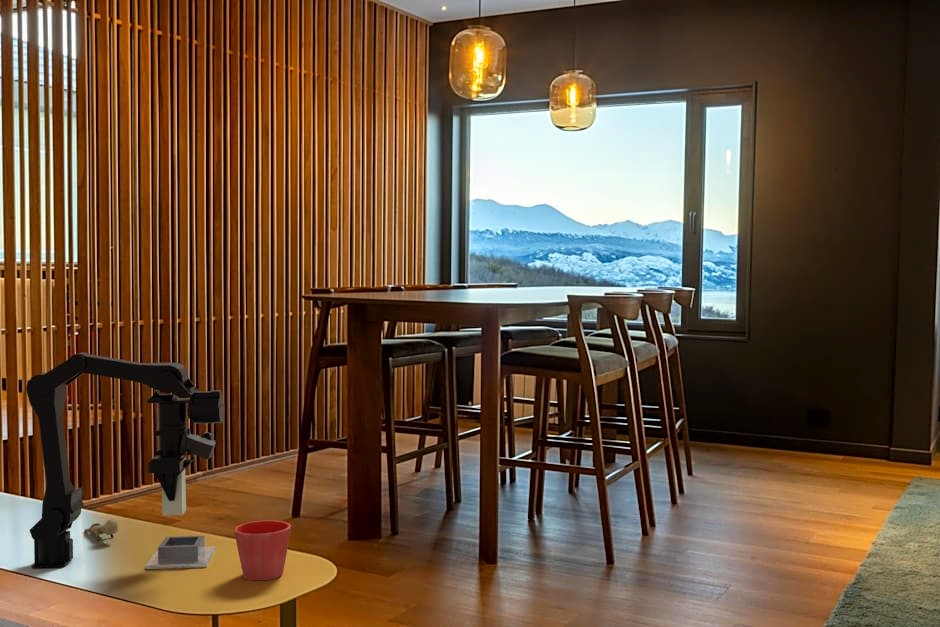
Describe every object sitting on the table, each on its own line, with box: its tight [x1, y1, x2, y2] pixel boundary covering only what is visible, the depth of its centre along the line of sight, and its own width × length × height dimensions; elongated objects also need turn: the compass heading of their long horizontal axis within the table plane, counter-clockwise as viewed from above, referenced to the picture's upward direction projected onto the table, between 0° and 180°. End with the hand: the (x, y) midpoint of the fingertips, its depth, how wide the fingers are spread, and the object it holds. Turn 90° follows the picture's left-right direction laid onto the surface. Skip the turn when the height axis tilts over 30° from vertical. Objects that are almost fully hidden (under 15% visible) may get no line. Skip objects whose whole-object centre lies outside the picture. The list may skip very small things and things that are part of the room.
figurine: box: [83, 518, 119, 542], centre depth 211 cm, size 4×4×15 cm
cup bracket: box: [145, 535, 217, 570], centre depth 195 cm, size 12×12×4 cm
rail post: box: [161, 468, 187, 516], centre depth 193 cm, size 4×4×9 cm
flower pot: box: [234, 519, 292, 581], centre depth 185 cm, size 11×11×10 cm
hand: (174, 498), depth 194 cm, fingers closed on rail post, 4 cm apart
